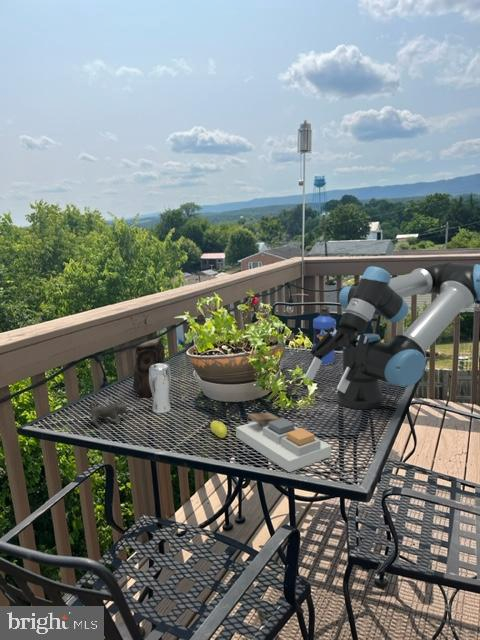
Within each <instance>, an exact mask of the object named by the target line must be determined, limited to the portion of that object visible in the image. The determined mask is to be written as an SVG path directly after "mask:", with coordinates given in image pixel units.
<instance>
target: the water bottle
mask: <svg viewBox="0 0 480 640" xmlns="http://www.w3.org/2000/svg"><path fill="white" fill-rule="evenodd" d="M329 309H330V308H329V306H328V305H322V306H321V307H320V308H319V312H318V313H319V316H317V317H315V318H313V321H312V328H313V334H314V335H313V336H314V337H313V343H312V345H313V347H312V349H313V348H314V347H315V346H316V345H317V343H318V342H319V341H320V340H321V339H322V338H323V337H324V336H325V335H326V334H327V333H328V331H329V329H330V328H331V327H332V328H334V329H335V330H336V319H335V318H333V317H331V316H330V313H331V312H330V310H329ZM319 355H320V354H319ZM332 362H334V363H335V349H334V350H333V351H331V352H330V353H329V354H327V355H326V356H325V357H323V358H322V363H321V364H328V363H332Z"/></svg>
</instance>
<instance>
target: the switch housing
mask: <svg viewBox="0 0 480 640" xmlns="http://www.w3.org/2000/svg"><path fill="white" fill-rule="evenodd" d="M297 429H300V428H299V427H296V426H295V425H294V430H297ZM294 430H293V431H294ZM290 432H291V431H290ZM287 433H288V432H287ZM287 433H284V434H281V435H279V434H277V433H275V432H274V431H272V430H270V429H268V423H257V422H255V421H252V422H249V423H246V424H242V425H239V426H236V427H235V437H236V438H237V439H238V440H240V441H241V442H243V443H244V444H246V445H248V446H249V447H250V448H252V449H253V450H255V451H257V452H258V453H260V454H261V455H263V456H264V457H265V458H267V459H268V460H270V461H271V462H273V463H275V464H276V465H277V466H279V467H280V468H282V469H284V470H285V471H287V472H288V473H292V472H294V471H298V470H300V469H302V468H304V467H308V466H310V465H312V464H315V463H317V462H320V461H323V460H325V459H328V458H330V457H331V456H332V445H330V444H328V443H327V442H325V441H323V440H321V439H319V438H318V437H316V436H314V441H313V442H311V443H308V444H305V445H302V446H298V445H296V444H294V443H293V442H291V441H289V440H287Z"/></svg>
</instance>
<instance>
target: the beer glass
mask: <svg viewBox="0 0 480 640" xmlns="http://www.w3.org/2000/svg"><path fill="white" fill-rule="evenodd" d="M171 380H172V379H171V370H170V365H169V364H168V363H165V362H164V363H158V364H153V365H150V366H149V384H150V389H151V393H152V397H153V398H152V407H151V410H152V413H155V414H164V413H168V412H170V411H171V407H172V406H171V403H170V391H171V385H172V383H171V382H172V381H171Z"/></svg>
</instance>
